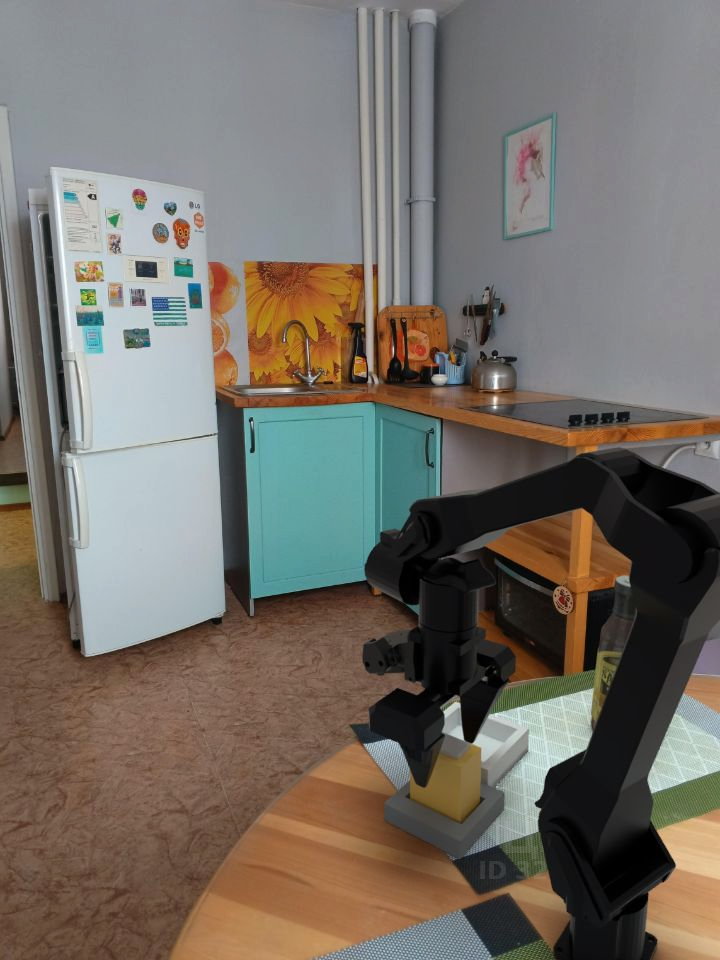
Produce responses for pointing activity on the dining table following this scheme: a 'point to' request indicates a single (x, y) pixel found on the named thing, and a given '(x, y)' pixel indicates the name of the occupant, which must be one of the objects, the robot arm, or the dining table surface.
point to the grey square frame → (444, 820)
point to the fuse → (452, 781)
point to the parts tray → (492, 743)
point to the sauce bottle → (612, 642)
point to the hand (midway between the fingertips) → (446, 762)
